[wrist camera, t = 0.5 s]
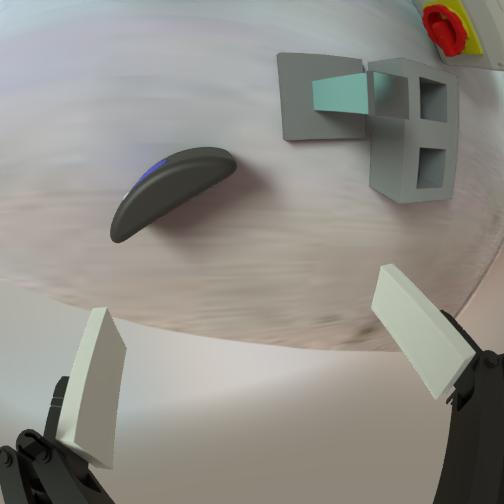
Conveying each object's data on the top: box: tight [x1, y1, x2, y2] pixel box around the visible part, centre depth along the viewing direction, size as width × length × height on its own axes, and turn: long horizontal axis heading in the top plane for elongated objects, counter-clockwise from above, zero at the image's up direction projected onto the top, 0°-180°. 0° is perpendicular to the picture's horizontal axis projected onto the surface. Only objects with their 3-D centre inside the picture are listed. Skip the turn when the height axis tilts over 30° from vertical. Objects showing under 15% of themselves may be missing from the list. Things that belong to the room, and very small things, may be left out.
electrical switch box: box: [412, 0, 504, 71], centre depth 19 cm, size 14×15×20 cm
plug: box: [312, 71, 409, 120], centre depth 25 cm, size 4×4×14 cm
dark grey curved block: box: [110, 147, 237, 243], centre depth 30 cm, size 16×5×9 cm, turn 117°
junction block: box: [368, 58, 459, 204], centre depth 33 cm, size 20×12×8 cm, turn 5°
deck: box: [277, 53, 365, 140], centre depth 32 cm, size 12×12×2 cm
